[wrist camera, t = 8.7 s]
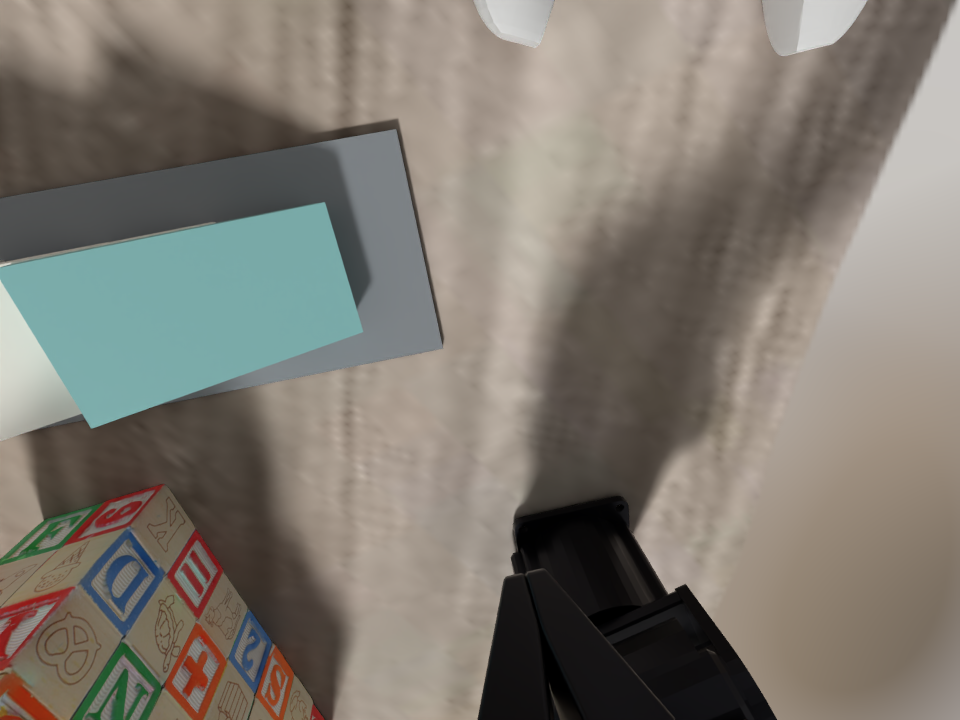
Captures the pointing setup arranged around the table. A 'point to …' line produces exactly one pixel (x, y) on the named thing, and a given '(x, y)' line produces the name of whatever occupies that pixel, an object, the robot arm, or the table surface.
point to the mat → (257, 190)
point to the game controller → (786, 6)
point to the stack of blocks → (133, 624)
